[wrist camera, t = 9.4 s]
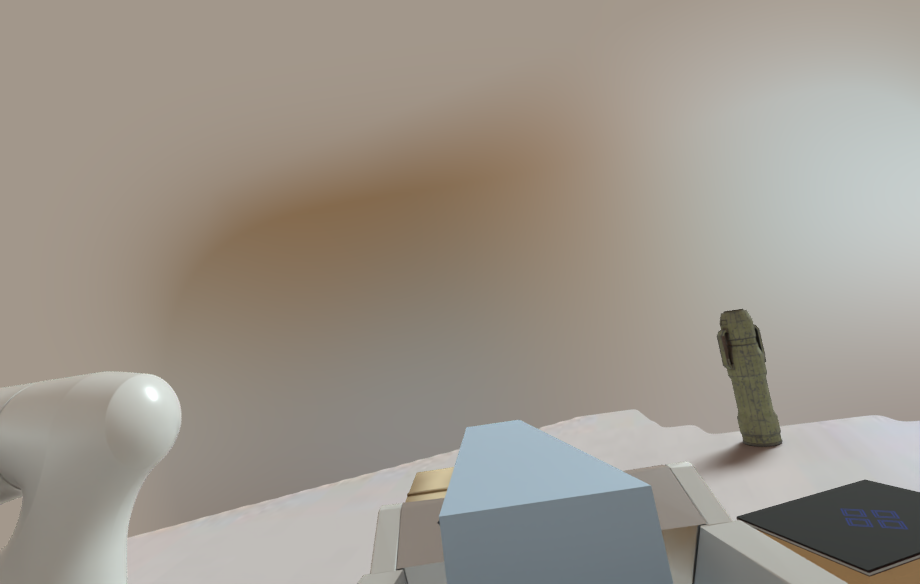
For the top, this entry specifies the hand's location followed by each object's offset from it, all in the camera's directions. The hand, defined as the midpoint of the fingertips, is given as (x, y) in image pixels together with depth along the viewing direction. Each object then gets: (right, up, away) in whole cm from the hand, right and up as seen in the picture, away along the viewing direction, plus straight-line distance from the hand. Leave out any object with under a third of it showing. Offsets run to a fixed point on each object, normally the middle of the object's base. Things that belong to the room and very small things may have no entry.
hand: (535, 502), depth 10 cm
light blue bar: (+1, -6, +10) cm, 11 cm away
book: (+53, -32, +48) cm, 78 cm away
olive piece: (+78, -35, +107) cm, 137 cm away
